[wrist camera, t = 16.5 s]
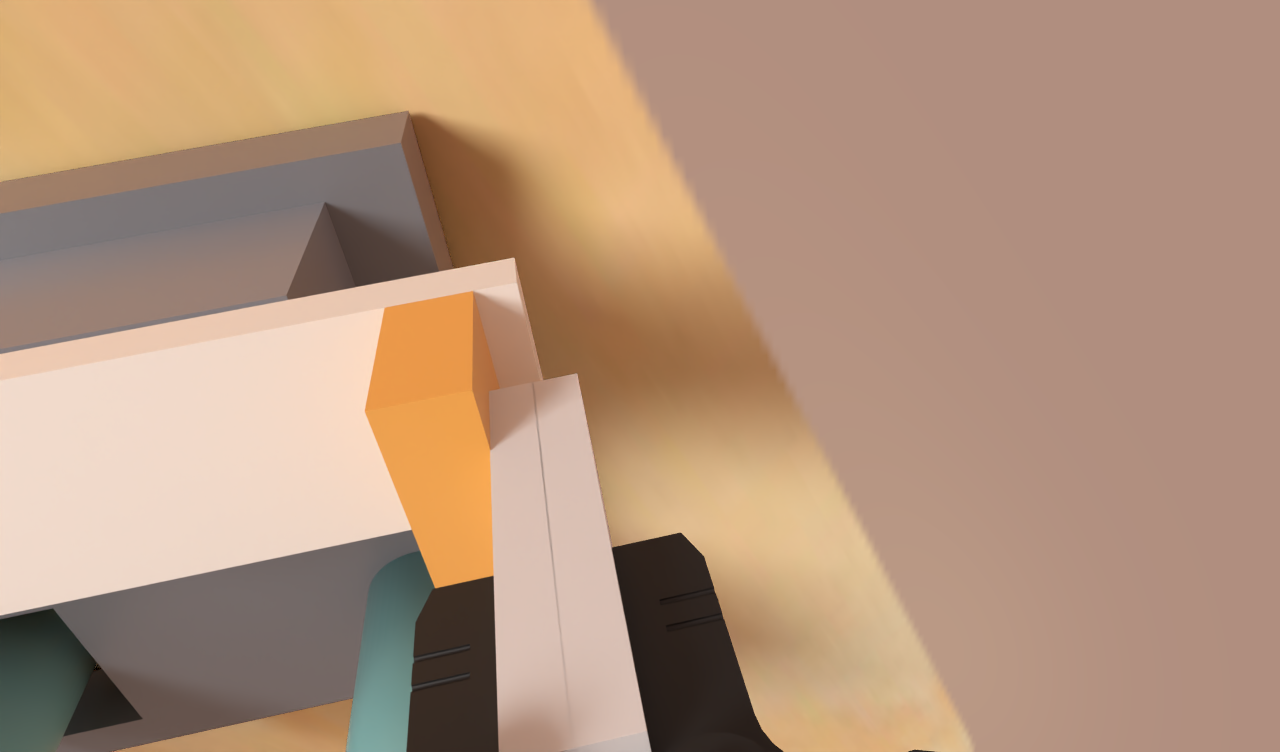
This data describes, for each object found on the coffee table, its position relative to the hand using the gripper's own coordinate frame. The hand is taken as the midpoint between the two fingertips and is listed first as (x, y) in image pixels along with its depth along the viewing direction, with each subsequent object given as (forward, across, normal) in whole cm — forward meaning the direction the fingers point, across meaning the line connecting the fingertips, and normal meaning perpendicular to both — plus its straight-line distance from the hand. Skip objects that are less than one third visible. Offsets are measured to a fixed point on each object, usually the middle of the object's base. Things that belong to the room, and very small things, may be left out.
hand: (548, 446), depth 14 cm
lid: (+3, -8, 0) cm, 8 cm away
